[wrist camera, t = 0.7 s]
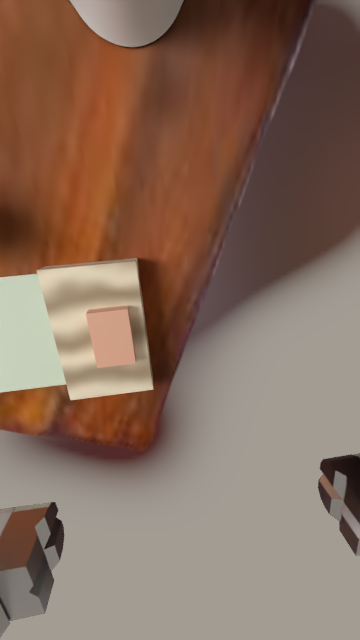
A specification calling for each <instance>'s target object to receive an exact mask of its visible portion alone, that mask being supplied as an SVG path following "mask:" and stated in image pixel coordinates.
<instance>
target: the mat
mask: <svg viewBox="0 0 360 640" xmlns="http://www.w3.org/2000/svg"><path fill="white" fill-rule="evenodd" d="M63 384H66V381H65V377H64V373H63V369H62V366H61V362H60V358H59V354H58V350H57V347H56V343H55V339H54V335H53V331H52V328H51V324H50V320H49V316H48V312H47V309H46V305H45V301H44V297H43V293H42V289H41V286H40V282H39V278H38V274H29V275H19V276H8V277H0V392H7V391H15V390H23V389H31V388H39V387H47V386H55V385H63Z"/></svg>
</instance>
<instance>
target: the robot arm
mask: <svg viewBox="0 0 360 640" xmlns="http://www.w3.org/2000/svg"><path fill="white" fill-rule="evenodd" d="M183 1H184V0H70V2H71V3H72V4H73V6H74V7H75V9H76V10H77V12H78V13H79V15H80V16H81V17H82V19H83V20H84V21H85V23H86V24H87V25H88V26H89V27H90V28H91V29H92V30H93V31H94V32H95V33H97V34H98V35H99V36H101V37H102V38H104V39H105V40H107V41H109V42H111V43H114V44H116V45H120V46H125V47H139V46H143V45H147V44H149V43H151V42H153V41H155V40H157V39H158V38H159V37H161V36H162V35H163V34H164V33H165V32H166V31H167V30H168V29H169V27H170V26H171V25H172V23H173V22H174V20H175V18H176V17H177V15H178V12H179V10H180V8H181V5H182V3H183ZM320 470H321V471H322V472H323V475H322V476H321V477H320V479H319V482H318V489H319V493H320V497H321V500H322V502H323V504H324V506H325V508H326V509H327V511H328V513H329V514H330V515H331V516H333V517H334V518H336V519H337V520H338V521H339V525H340V527H339V528H340V532H341V533H342V535H343V536H344V538H345V539H346V541H347V543H348V544H349V546H350V547H351V549H352V550H353V552H354V553H355V555H356V556H358V555H360V454H354V455H346V456H339V457H333V458H328V459H323V460H322V461H321V464H320ZM57 512H58V508H57V505H56V503H55V502H50V503H42V504H34V505H26V506H19V507H12V508H5V509H0V637H1V636H2V634H3V633H4V631H5V630H6V629H7V627H8V626H9V624H10V622H9V621H12V620H17V619H21V618H26V617H30V616H35V615H40V614H44V613H45V611H46V608H47V605H48V601H49V597H50V594H51V590H52V587H53V583H54V578H53V576H52V573H51V571H52V570H53V568H54V567H55V566H56V565H57V563H58V562H59V561H60V558H61V554H62V549H63V543H64V527H63V524H62V521H61V520H59V519H58V518H56V516H57Z"/></svg>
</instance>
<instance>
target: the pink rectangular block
mask: <svg viewBox="0 0 360 640" xmlns="http://www.w3.org/2000/svg"><path fill="white" fill-rule="evenodd" d="M86 317H87V322H88V327H89V332H90V336H91V341H92V346H93V350H94V355H95V360H96V365H97V368H103V367H111V366H120V365H128V364H136V351H135V345H134V338H133V331H132V325H131V318H130V312H129V305H127V306H117V307H108V308H99V309H89V310H88V311H87V313H86Z"/></svg>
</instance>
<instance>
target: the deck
mask: <svg viewBox="0 0 360 640" xmlns="http://www.w3.org/2000/svg"><path fill="white" fill-rule="evenodd" d="M37 274H38V278H39V282H40V286H41V289H42V293H43V297H44V301H45V305H46V309H47V312H48V316H49V320H50V324H51V328H52V331H53V335H54V339H55V343H56V347H57V350H58V354H59V358H60V362H61V366H62V369H63V373H64V377H65V381H66V385H67V388H68V392H69V396H70V400H76V399H84V398H91V397H99V396H107V395H115V394H122V393H130V392H138V391H146V390H153V374H152V367H151V359H150V352H149V344H148V337H147V329H146V321H145V314H144V306H143V299H142V291H141V284H140V276H139V268H138V261H137V258H130V259H119V260H109V261H98V262H87V263H76V264H66V265H55V266H46V267H44V268H41V269H39V270H37ZM127 305H129V312H130V318H131V325H132V331H133V338H134V345H135V351H136V364H128V365H120V366H111V367H103V368H97V365H96V360H95V355H94V350H93V346H92V341H91V336H90V332H89V327H88V322H87V317H86V313H87V311H88V310H89V309H99V308H108V307H117V306H127Z"/></svg>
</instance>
